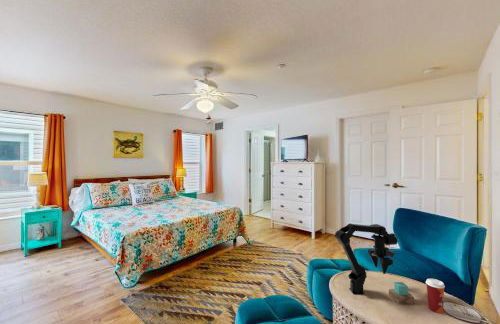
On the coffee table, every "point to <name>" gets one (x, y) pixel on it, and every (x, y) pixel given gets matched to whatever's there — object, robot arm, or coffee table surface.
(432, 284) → the coffee cup
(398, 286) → the teal cube
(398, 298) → the walnut block
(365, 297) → the coffee table surface
